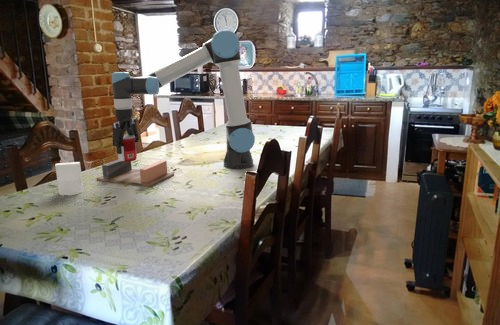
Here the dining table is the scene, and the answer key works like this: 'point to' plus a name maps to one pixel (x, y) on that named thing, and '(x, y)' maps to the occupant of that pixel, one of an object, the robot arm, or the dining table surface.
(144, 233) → the dining table surface
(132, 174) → the vise base
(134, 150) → the canned food
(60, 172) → the white upright block
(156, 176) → the block
